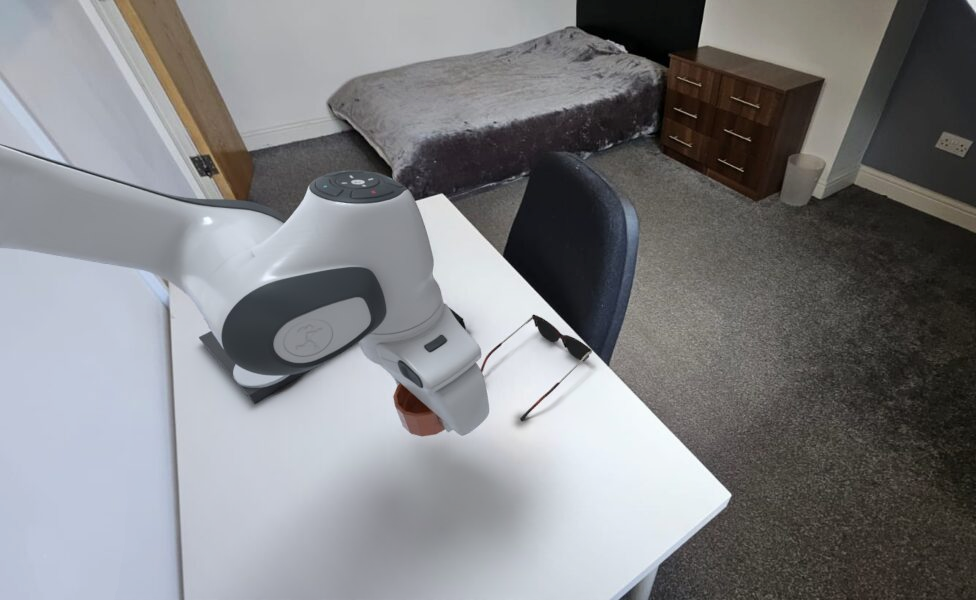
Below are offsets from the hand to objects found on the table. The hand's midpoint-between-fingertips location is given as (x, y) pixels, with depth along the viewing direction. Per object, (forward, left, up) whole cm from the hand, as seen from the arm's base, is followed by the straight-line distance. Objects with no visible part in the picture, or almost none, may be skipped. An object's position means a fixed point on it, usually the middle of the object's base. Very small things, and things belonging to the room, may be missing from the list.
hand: (428, 406), depth 57 cm
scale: (-1, +43, -16) cm, 46 cm away
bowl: (0, 0, -2) cm, 2 cm away
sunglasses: (+21, +3, -16) cm, 26 cm away
